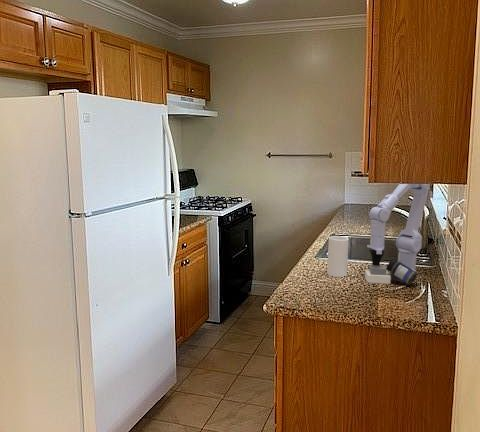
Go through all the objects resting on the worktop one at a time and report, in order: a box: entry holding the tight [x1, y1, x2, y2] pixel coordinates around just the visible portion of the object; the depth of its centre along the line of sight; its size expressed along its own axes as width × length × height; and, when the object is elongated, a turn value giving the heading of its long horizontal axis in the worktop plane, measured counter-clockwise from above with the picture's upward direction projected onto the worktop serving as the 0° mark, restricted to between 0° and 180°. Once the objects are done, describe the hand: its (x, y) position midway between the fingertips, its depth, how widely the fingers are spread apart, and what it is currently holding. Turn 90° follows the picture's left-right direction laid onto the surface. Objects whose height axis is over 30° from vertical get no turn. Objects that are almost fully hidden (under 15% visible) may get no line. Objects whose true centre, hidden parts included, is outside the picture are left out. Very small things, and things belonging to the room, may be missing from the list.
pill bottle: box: [385, 259, 419, 286], centre depth 190 cm, size 6×6×11 cm
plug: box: [390, 273, 401, 282], centre depth 197 cm, size 4×4×6 cm
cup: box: [326, 235, 350, 278], centre depth 201 cm, size 8×8×16 cm
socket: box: [364, 269, 392, 285], centre depth 195 cm, size 9×9×3 cm
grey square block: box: [368, 264, 388, 275], centre depth 195 cm, size 6×6×2 cm
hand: (375, 267), depth 200 cm, fingers closed
